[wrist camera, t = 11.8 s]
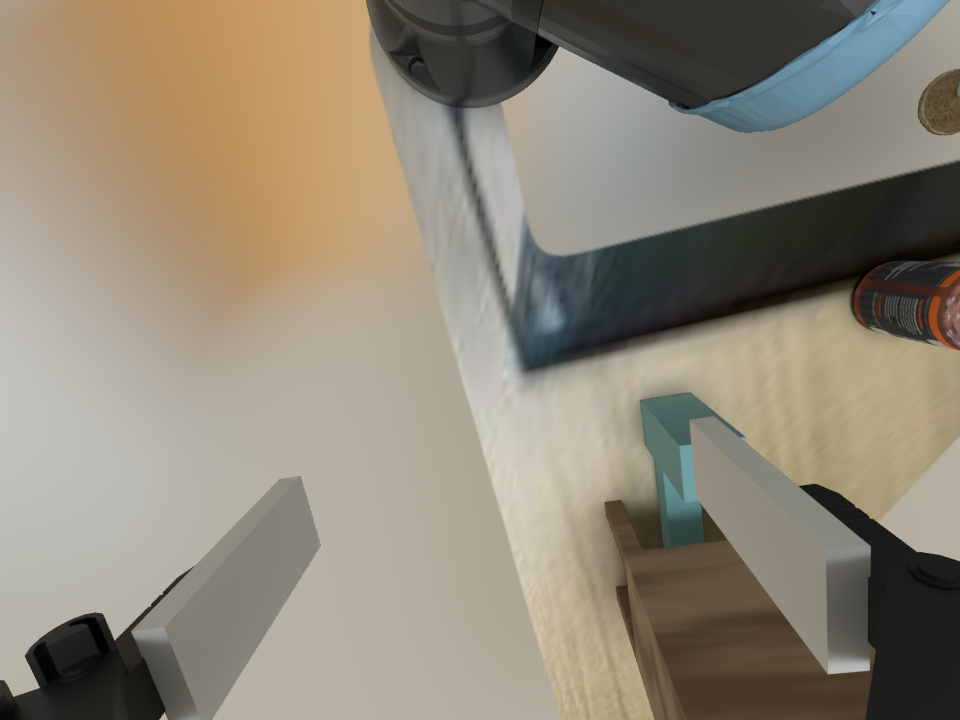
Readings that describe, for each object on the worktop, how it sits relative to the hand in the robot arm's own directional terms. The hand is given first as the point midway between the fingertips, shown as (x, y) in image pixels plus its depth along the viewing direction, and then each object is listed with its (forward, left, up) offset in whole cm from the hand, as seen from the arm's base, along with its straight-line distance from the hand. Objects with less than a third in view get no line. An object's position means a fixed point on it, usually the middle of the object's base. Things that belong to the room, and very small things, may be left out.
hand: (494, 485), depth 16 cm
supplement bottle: (+2, +32, -27) cm, 42 cm away
